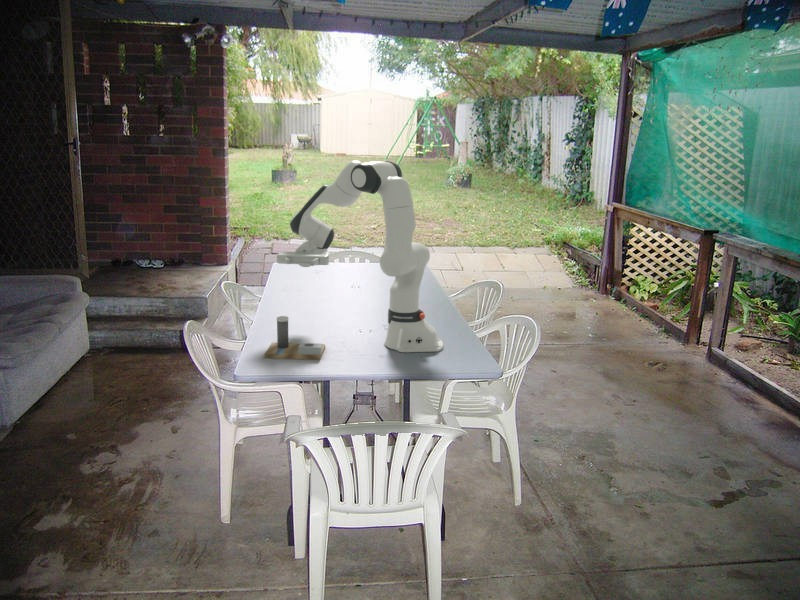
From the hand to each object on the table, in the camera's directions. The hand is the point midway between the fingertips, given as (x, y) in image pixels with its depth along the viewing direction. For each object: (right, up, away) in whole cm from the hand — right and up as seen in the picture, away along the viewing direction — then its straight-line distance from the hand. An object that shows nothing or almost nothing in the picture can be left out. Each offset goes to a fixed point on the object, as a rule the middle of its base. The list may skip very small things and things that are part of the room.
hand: (300, 262), depth 260 cm
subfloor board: (0, -34, -10) cm, 35 cm away
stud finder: (+6, -33, -14) cm, 36 cm away
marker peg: (-5, -31, -8) cm, 33 cm away
